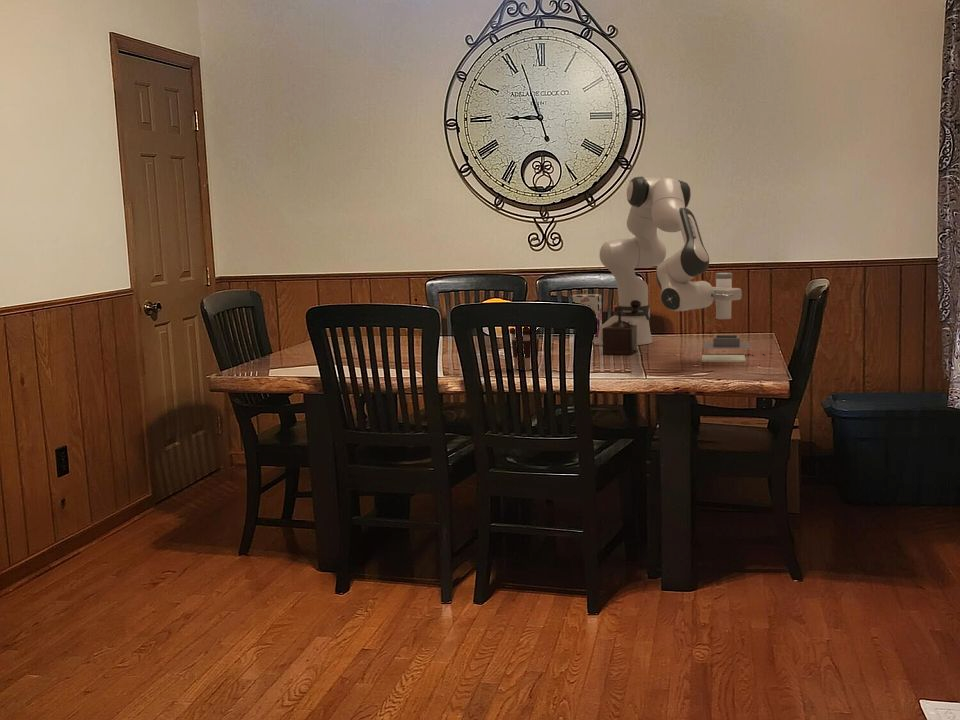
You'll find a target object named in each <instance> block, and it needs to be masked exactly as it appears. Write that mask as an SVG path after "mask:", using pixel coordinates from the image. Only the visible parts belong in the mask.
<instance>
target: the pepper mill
mask: <svg viewBox="0 0 960 720" xmlns="http://www.w3.org/2000/svg"><path fill="white" fill-rule="evenodd" d="M630 305H631V307H632V311H631V313H625V312H621V307H620V306H618V305H617V306H618V307H617V309H618V310H617V312H618V321H617V322H614V323H613V324H611V325H609V326H607V327H605V328H603V329H602V331H603V345H602V355H605V356H606V355H608V356H612V355H613V356H632V355H634V354H636V353H637V352H638V345H637V325H630V324H629V322H630V321H629V322H628V323H627V322H625V321H621V314H622V315H631V314H636V313H639V310H638V309H639V307H640V306H641V302H640V301H638V300H633V301H631V303H630Z"/></svg>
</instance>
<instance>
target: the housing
mask: <svg viewBox="0 0 960 720" xmlns="http://www.w3.org/2000/svg"><path fill="white" fill-rule="evenodd" d="M712 339H713V341H704V342H703V348H702V349H731V350H733V349H735V350H736V349H737V350H738V349H739V350H740V349H742V350H743V349H751V345H750V342H749V341H740V340H741V337H740V334H713V338H712Z"/></svg>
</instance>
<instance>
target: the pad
mask: <svg viewBox="0 0 960 720" xmlns="http://www.w3.org/2000/svg"><path fill="white" fill-rule="evenodd" d="M701 363H746V355H745V353H702V355H701Z"/></svg>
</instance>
